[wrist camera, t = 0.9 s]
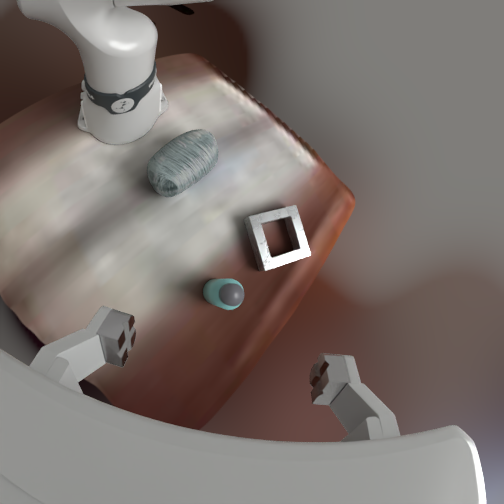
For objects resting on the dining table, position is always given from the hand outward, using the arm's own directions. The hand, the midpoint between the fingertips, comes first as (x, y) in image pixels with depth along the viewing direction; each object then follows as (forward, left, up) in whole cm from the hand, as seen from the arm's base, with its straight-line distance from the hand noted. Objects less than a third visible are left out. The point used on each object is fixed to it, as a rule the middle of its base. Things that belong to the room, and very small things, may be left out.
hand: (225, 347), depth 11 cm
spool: (-21, +8, -37) cm, 43 cm away
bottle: (+2, +8, -37) cm, 37 cm away
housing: (-4, +22, -37) cm, 43 cm away
